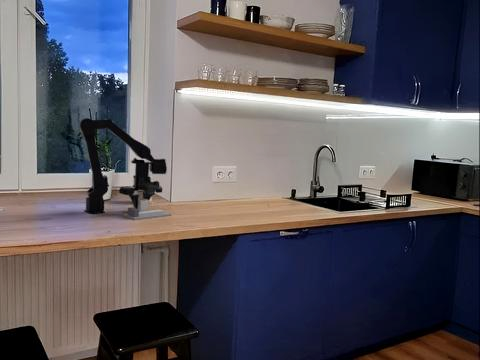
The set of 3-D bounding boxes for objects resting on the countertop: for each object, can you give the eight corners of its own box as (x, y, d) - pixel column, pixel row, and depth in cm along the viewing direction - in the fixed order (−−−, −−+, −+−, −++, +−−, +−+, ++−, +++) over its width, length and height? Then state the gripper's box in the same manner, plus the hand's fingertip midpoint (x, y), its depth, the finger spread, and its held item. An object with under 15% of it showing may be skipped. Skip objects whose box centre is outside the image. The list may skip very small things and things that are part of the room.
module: (140, 213, 189) (140, 200, 189) (132, 210, 193) (133, 197, 193) (148, 212, 192) (148, 199, 191) (140, 209, 196) (141, 197, 196)
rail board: (134, 220, 176) (135, 211, 176) (123, 215, 182) (123, 207, 182) (171, 215, 189) (171, 207, 188) (159, 211, 195) (159, 203, 195)
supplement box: (152, 202, 215) (153, 175, 213) (149, 204, 210) (150, 176, 209) (135, 200, 216) (136, 174, 214) (132, 202, 211) (133, 175, 209)
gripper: (133, 177, 178) (131, 214, 180) (170, 175, 192) (168, 210, 194) (119, 173, 186) (117, 209, 188) (155, 172, 199) (154, 205, 201)
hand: (140, 209), depth 193 cm, fingers closed on module, 4 cm apart
